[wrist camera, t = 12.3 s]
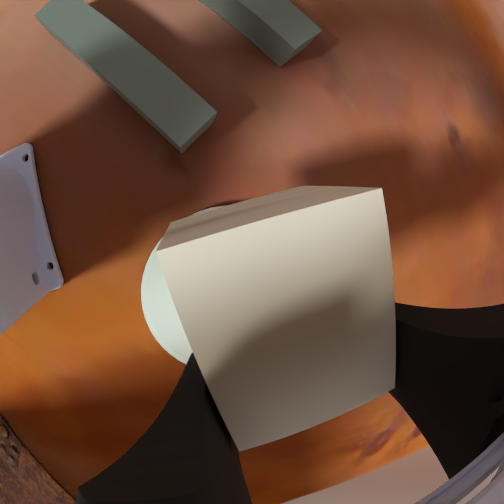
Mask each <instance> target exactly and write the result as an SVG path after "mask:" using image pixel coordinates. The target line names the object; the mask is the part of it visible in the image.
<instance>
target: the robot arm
mask: <svg viewBox="0 0 504 504" xmlns="http://www.w3.org/2000/svg"><path fill="white" fill-rule="evenodd" d="M26 155H28V156H29V158H28V161H27V162H26V161H25V157H26ZM50 262H51V263H52V264H53V267H54V268H53V269H52V268H50V266H49V263H50ZM63 282H64V280H63V276H62V273H61V270H60V267H59V264H58V261H57V257H56V254H55V251H54V247H53V244H52V240H51V237H50V233H49V229H48V225H47V221H46V217H45V213H44V208H43V204H42V199H41V194H40V189H39V184H38V179H37V173H36V167H35V160H34V153H33V147H32V145H31V144H29V143H23V144H21V145H19V146H17V147H15V148H14V149H12V150H10V151H8V152H6V153H4V154H2V155H0V334H2V333H3V332H4V331H6V330H7V329H8V328H9V327H10V326H12V325H13V324H14V323H15V322H16V321H17V320H18V319H19V318H20V317H21V316H22V315H24V314H25V313H26V312H27V311H28V310H29V309H30V308H31V307H32V306H34V305H35V304H36V303H37V302H38V301H39V300H40V299H42V298H43V297H44V296H45V295H46V294H47V293H49V292H50V291H51V290H55V289H58V288H60V287H61V286H62V285H63ZM395 320H396V370H395V388H394V389H392V390H390V391H388V392H389V393H390V394H391V395H392V396H393V397H394V398H395V399H396V400H397V401H398V402H399V403H400V405H401V406H402V407H403V408H404V410H405V411H406V412H407V414H408V415H409V416H410V417H411V419H412V420H413V421H414V423H415V424H416V426H417V427H418V428H419V430H420V431H421V433H422V434H423V436H424V437H425V439H426V440H427V442H428V443H429V445H430V446H431V448H432V449H433V451H434V453H435V454H436V456H437V458H438V459H439V461H440V463H441V465H442V466H443V468H444V470H445V472H446V474H447V476H448V478H449V480H448V481H447V482H446V483H444V484H443V485H442V486H440V487H439V488H437V489H436V490H435V491H433V492H432V493H430V494H429V495H427V496H426V497H424V498H423V499H421V500H420V501H418V502H417V503H415V504H456V503H457V502H459V501H460V500H461V499H462V498H464V497H465V496H466V495H467V494H469V493H470V492H471V491H472V490H473V489H474V488H476V487H477V486H478V485H479V484H480V483H481V482H482V481H484V480H485V479H486V478H487V477H488V476H489V475H490V474H491V473H492V472H493V471H494V470H495V469H496V468H497V467H498V466H499V465H501V466H500V467H499V469H498V471H497V473H496V475H495V476H494V478H493V479H492V480H491V482H490V483H489V484H488V485H487V486H486V487H485V488H484V489H483V490H482V491H481V492H479V493H478V494H477V495H476V496H475V497H474V498H472V499H471V500H470V501H469V502H468V503H466V504H504V304H500V305H494V306H488V307H479V308H466V309H443V308H428V307H420V306H412V305H406V304H400V303H395ZM75 504H252V501H251V499H250V496H249V492H248V489H247V486H246V483H245V480H244V476H243V473H242V469H241V465H240V460H239V454H238V448H237V446H236V444H235V442H234V440H233V438H232V436H231V434H230V432H229V430H228V428H227V426H226V424H225V422H224V420H223V418H222V416H221V414H220V412H219V410H218V408H217V406H216V403H215V401H214V399H213V397H212V395H211V393H210V390H209V388H208V386H207V384H206V381H205V379H204V377H203V375H202V372H201V370H200V368H199V365H198V363H197V361H196V358H195V356H194V354H193V353H191V355H190V357H189V359H188V362H187V364H186V366H185V369H184V371H183V373H182V375H181V377H180V380H179V382H178V384H177V386H176V388H175V390H174V391H173V393H172V395H171V397H170V399H169V400H168V402H167V404H166V405H165V407H164V409H163V410H162V412H161V413H160V415H159V416H158V417H157V419H156V420H155V421H154V423H153V424H152V425H151V427H150V428H149V429H148V430H147V431H146V432H145V433H144V435H143V436H142V437H141V438H140V439H139V440H138V441H137V442H136V443H135V444H134V445H133V446H132V447H131V448H130V449H129V450H128V451H127V452H126V453H125V454H124V455H123V456H122V457H121V458H119V459H118V460H117V461H116V462H114V463H113V464H112V465H111V466H109V467H108V468H107V469H105V470H104V471H103V472H101V473H100V474H98V475H97V476H95V477H94V478H92V479H91V480H89V481H88V482H86V483H84V484H83V485H81V486H79V488H78V492H77V497H76V502H75Z"/></svg>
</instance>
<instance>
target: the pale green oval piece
mask: <svg viewBox="0 0 504 504" xmlns="http://www.w3.org/2000/svg"><path fill="white" fill-rule="evenodd" d="M224 206H227V205H221V206H216V207H210V208H207V209H204V210H200V211H198V212H195V213H193V214H191V215H189V216H193V215H196V214H199V213H203V212H206V211H210V210H213V209H217V208H220V207H224ZM189 216H187V217H189ZM185 218H186V217H185ZM162 238H163V237H162ZM162 238H161V239H160V240H159V242H158V243H157V245H156V246H155V248H154V249H153V251H152V253H151V255H150V257H149V259H148V262H147V264H146V267H145V270H144V273H143V278H142V285H141V301H142V308H143V312H144V316H145V319H146V322H147V324H148V326H149V329H150V331H151V332H152V334H153V335H154V337H155V339H156V340H157V341H158V342H159V344H160V345H161V346H162V347H163V348H164V349H165V350H166V351H167V352H168V353H169V354H170V355H172V356H173V357H175V358H176V359H177V360H179V361H181V362H182V363H184V364H187V362H188V359H189V357H190V355H191V353H193V351H192V349H191V346H190V344H189V341H188V339H187V336H186V334H185V331H184V329H183V326H182V324H181V321H180V318H179V316H178V313H177V311H176V308H175V305H174V303H173V300H172V297H171V294H170V292H169V289H168V286H167V283H166V280H165V277H164V275H163V272H162V269H161V266H160V263H159V260H158V257H157V254H156V250H157V248H158V246H159V244H160V242H161V240H162Z"/></svg>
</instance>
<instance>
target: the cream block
mask: <svg viewBox="0 0 504 504" xmlns="http://www.w3.org/2000/svg"><path fill="white" fill-rule="evenodd" d="M156 254H157V257H158V260H159V263H160V266H161V269H162V272H163V275H164V277H165V280H166V283H167V286H168V289H169V292H170V294H171V297H172V300H173V303H174V305H175V308H176V311H177V313H178V316H179V318H180V321H181V324H182V326H183V329H184V331H185V334H186V336H187V339H188V341H189V344H190V346H191V349H192V351H193V354H194V356H195V358H196V361H197V363H198V365H199V368H200V370H201V372H202V375H203V377H204V379H205V381H206V384H207V386H208V388H209V390H210V393H211V395H212V397H213V399H214V401H215V403H216V406H217V408H218V410H219V412H220V414H221V416H222V418H223V420H224V422H225V424H226V426H227V428H228V430H229V432H230V434H231V436H232V438H233V440H234V442H235V444H236V446H237V448H238V450H239V452H240V451H243V450H247V449H250V448H254V447H257V446H260V445H263V444H267V443H270V442H273V441H276V440H279V439H282V438H285V437H287V436H290V435H293V434H296V433H298V432H301V431H304V430H306V429H309V428H311V427H314V426H316V425H319V424H321V423H324V422H326V421H328V420H331V419H333V418H335V417H338V416H340V415H342V414H344V413H346V412H349V411H351V410H353V409H355V408H357V407H359V406H361V405H363V404H365V403H367V402H369V401H371V400H373V399H375V398H377V397H379V396H381V395H383V394H385V393H387V392H388V391H390V390H392V389H394V388H395V370H396V320H395V296H394V281H393V268H392V257H391V248H390V239H389V231H388V223H387V216H386V210H385V203H384V197H383V191H382V188H370V187H345V186H299V187H295V188H291V189H287V190H283V191H279V192H276V193H272V194H268V195H264V196H260V197H257V198H253V199H249V200H245V201H242V202H238V203H234V204H231V205H227V206H224V207H220V208H217V209H213V210H210V211H206V212H203V213H199V214H196V215H193V216H189V217H186V218H183V219H179V220H176V221H173V222H171V223H170V225H169V227H168V229H167V230H166V232H165V234H164V236H163V238H162V240H161V242H160V244H159V246H158V248H157V250H156Z"/></svg>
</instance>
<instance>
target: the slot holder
mask: <svg viewBox="0 0 504 504" xmlns="http://www.w3.org/2000/svg"><path fill="white" fill-rule="evenodd" d="M199 1H201V2H202V3H204V4H205V5H206V6H208V7H209V8H210V9H212V10H213V11H214V12H216V13H217V14H218V15H219V16H221V17H222V18H223V19H224V20H226V21H227V22H228V23H229V24H231V25H232V26H233V27H234V28H236V29H237V30H238V31H239V32H240V33H242V34H243V35H244V36H245V37H246V38H247V39H249V40H250V41H251V42H252V43H253V44H254V45H255V46H257V47H258V48H259V49H260V50H261V51H262V52H263V53H264V54H265V55H266V56H268V57H269V58H270V59H271V60H272V61H273V62H274V63H275V64H276V65H277V66H278V67H279V68H280V67H281V66H282V65H283V64H285V63H286V62H287V61H289V60H290V59H291V58H293V57H294V56H295V55H297V54H298V53H299V52H301V51H302V50H304V49H305V48H306V47H307V46H308V45H309V44H310V43H311V41H312V40H313V39H314V38H315V37H316V36H317V35H318V34H319V33H320V32H321V31H322V30H321V29H320V28H319V27H318V26H317V25H316V24H315V23H314V22H313V21H312V20H311V19H310V18H309V17H307V16H306V15H305V14H304V13H303V12H302V11H301V10H300V9H298V8H297V7H296V6H295V5H294V4H293V3H291V2H290V1H289V0H199ZM34 16H35V17H36V18H37V19H38V20H39V22H40V23H41V24H42V25H43V26H44V27H45V28H46V29H47V31H48V32H49V33H50V34H51V35H52V36H54V37H55V38H56V39H57V40H58V41H59V42H60V43H62V44H63V45H64V46H65V47H66V48H67V49H68V50H69V51H71V52H72V53H73V54H74V55H75V56H76V57H77V58H78V59H80V60H81V61H82V62H83V63H84V64H85V65H86V66H87V67H88V68H90V69H91V70H92V71H93V72H94V73H95V74H96V75H97V76H98V77H100V78H101V79H102V80H103V81H104V82H105V83H106V84H107V85H108V86H109V87H111V88H112V89H113V90H114V91H115V92H116V93H117V94H118V95H119V96H120V97H121V98H123V99H124V100H125V101H126V102H127V103H128V104H129V105H130V106H131V107H132V108H133V109H134V110H136V111H137V112H138V113H139V114H140V115H141V116H142V117H143V118H144V119H145V120H146V121H147V122H148V123H149V124H151V125H152V126H153V127H154V128H155V129H156V130H157V131H158V132H159V133H160V134H161V135H162V136H163V137H164V138H165V139H166V140H168V141H169V142H170V143H171V144H172V145H173V146H174V147H175V148H176V149H177V150H178V151H179V152H180V153H181V154H183V153H184V152H185V151H186V150H187V149H188V148H189V147H190V146H191V145H192V144H193V143H194V142H195V141H196V140H197V139H198V138H199V137H200V136H201V135H202V134H203V133H204V132H205V131H206V130H207V129H208V128H209V127H210V126H211V125H213V122H214V119H215V117H216V114H217V111H216V110H215V109H213V108H212V107H211V106H210V105H209V104H208V103H207V102H206V101H205V100H204V99H203V98H202V97H201V96H199V95H198V94H197V93H196V92H195V91H194V90H193V89H192V88H191V87H190V86H188V85H187V84H186V83H185V82H184V81H183V80H182V79H181V78H179V77H178V76H177V75H176V74H175V73H174V72H173V71H171V70H170V69H169V68H168V67H167V66H166V65H165V64H163V63H162V62H161V61H160V60H159V59H157V58H156V57H155V56H154V55H153V54H152V53H150V52H149V51H148V50H147V49H145V48H144V47H143V46H142V45H141V44H139V43H138V42H137V41H136V40H134V39H133V38H132V37H131V36H129V35H128V34H127V33H126V32H124V31H123V30H122V29H120V28H119V27H118V26H117V25H115V24H114V23H113V22H111V21H110V20H109V19H107V18H106V17H105V16H103V15H102V14H101V13H99V12H98V11H97V10H95V9H94V8H92V7H91V6H90V5H88V4H87V3H85V2H84V1H83V0H51V1H49V2H48V3H47V4H46V5H45V6H44V7H43V8H42V9H41V10H40V11H38V12H37V13H36V14H35V15H34Z"/></svg>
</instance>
